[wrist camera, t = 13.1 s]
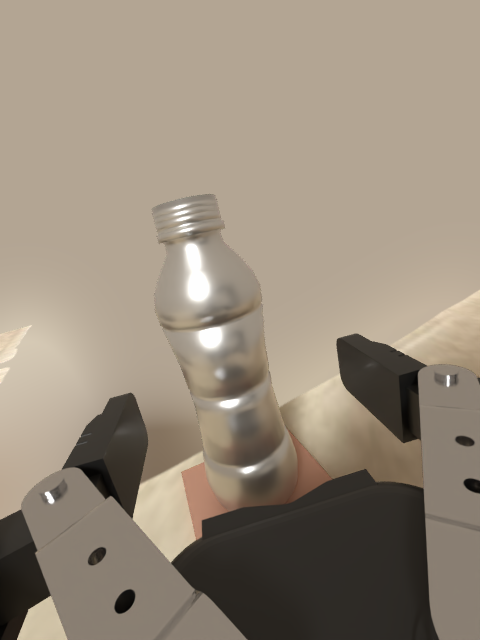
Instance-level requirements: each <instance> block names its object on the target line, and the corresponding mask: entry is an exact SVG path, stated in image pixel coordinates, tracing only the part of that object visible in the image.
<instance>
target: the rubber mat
mask: <svg viewBox="0 0 480 640" xmlns="http://www.w3.org/2000/svg"><path fill="white" fill-rule="evenodd" d="M287 430H288V429H287ZM288 432H289V434H290V437H291V439H292V442H293V445H294V447H295V450H296V453H297V460H298V477H297V484H296V487H295V489H294V491H293V493H292V495H291V496H290V498H289V499H288V501H287V502H286V503H285V504H288V503H291V502H293V501H295V500H297V499H298V498H300V497H302V496H303V495H305V494H307V493H308V492H310V491H312V490H313V489H315V488H317V487H318V486H320V485H321V484H323V483H325V482H326V481H329V480H332V478H331V477H330V476H329V475H328V474H327V473H326V471H325V470H324V469H323V468H322V467H321V466H320V465H319V464H318V462H317V461H316V460H315V459H314V458H313V457H312V456H311V455H310V453H309V452H308V451H307V450H306V449H305V448H304V447H303V446H302V444H301V443H300V442H299V441H298V440H297V439H296V438H295V437H294V435H293V434H292V433H291V432H290V431H289V430H288ZM181 473H182V477H183V482H184V487H185V491H186V496H187V500H188V505H189V509H190V514H191V518H192V523H193V527H194V532H195V536H196V540H197V539H199V538H201V537H202V520H204V519H207V518H211V517H214V516H217V515H220V514H223V513H227V512H230V511H229V510H227V509H226V508H224V507H223V506H222V505H221V504H220V503H219V501H218V499H217V498H216V496H215V494H214V492H213V490H212V489H211V487H210V485H209V483H208V481H207V477H206V471H205V465H204V462H203V463H201V464H199V465H196V466H194V467H192V468H189V469H187V470H185V471H182V472H181Z"/></svg>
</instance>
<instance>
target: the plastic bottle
mask: <svg viewBox="0 0 480 640" xmlns="http://www.w3.org/2000/svg"><path fill="white" fill-rule="evenodd" d="M152 212H153V213H152V215H153V218H154V222H155V225H156V229H157V232H158V236H157V239H158V242H159V244H160V243H164V244H165V247H166V258H165V261H164V263H163V266H162V269H161V272H160V275H159V278H158V282H157V286H156V290H155V313H156V315H157V317H158V320H159V323H160V325H161V326H162V327H163V331H164V333H165V335H166V338H167V340H168V342H169V344H170V346H171V348H172V350H173V352H174V354H175V356H176V359H177V361H178V363H179V365H180V367H181V370H182V372H183V375H184V378H185V380H186V383H187V386H188V388H189V389H190V394H191V397H192V400H193V402H194V405H195V408H196V414H197V418H198V423H199V428H200V433H201V437H202V442H203V457H204V465H205V471H206V477H207V481H208V483H209V485H210V487H211V489H212V490H213V492H214V494H215V496H216V498H217V499H218V501H219V503H220V504H221V505H222V506H223V507H224V508H226V509H227V510H229V511H233V510H236V509H239V508H243V507H253V506H267V505H280V504H285V503H286V502H287V501H288V499H289V498H290V496H291V495H292V493H293V491H294V489H295V487H296V484H297V477H298V460H297V453H296V450H295V447H294V445H293V442H292V439H291V437H290V434H289V432H288V430H287V428H286V426H285V424H284V422H283V419H282V416H281V413H280V409H279V406H278V403H277V400H276V397H275V393H274V390H273V387H272V382H271V376H270V372H269V364H268V358H267V352H266V346H265V337H264V321H263V308H262V307H263V306H262V303H261V302H262V296H261V288H260V284H259V282H258V280H257V278H256V276H255V274H254V272H253V270H252V269H251V268H250V267H249V266H248V265H247V264H246V263H245V261H244V260H243V259H242V258H241V257H240V256H239V255H238V254H236V252H234V251H233V250H232V249H231V248H230V247H229V246H228V245H227V244H226V243H225V242H224V241H223V238H222V236H221V233H220V231H221V229H224V228H225V226H224V222H223V221H221V216H220V212H219V207H218V203H217V199H216V197H215V195H213V194H205V195H197V196H191V197H186V198H182V199H178V200H174V201H170V202H167V203H163V204H160V205H158V206H156V207H154V208H152Z"/></svg>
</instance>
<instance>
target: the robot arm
mask: <svg viewBox="0 0 480 640" xmlns="http://www.w3.org/2000/svg"><path fill="white" fill-rule="evenodd" d="M337 352H338V361H339V368H340V375H341V379H342V382H343V384H344V386H345V388H346V389H347V390H348V391H349V392H350V393H351V394H352V395H353V396H354V397H355V398H356V399H357V400H358V401H359V402H360V403H361V404H362V405H364V406H365V407H366V408H367V409H368V410H369V411H370V412H371V413H372V414H373V415H374V416H375V417H376V418H377V419H378V420H379V421H380V422H381V423H382V424H384V425H385V426H386V427H387V428H388V429H389V430H390V431H391V432H392V433H393V434H394V435H395V436H396V437H397V438H398V439H399V440H400V441H401V442H403V443H406V442H409V441H412V440H416V439H419V440H421V449H422V469H423V488H424V489H423V488H420V487H416V486H413V485H408V484H403V483H396V482H375V480H374V479H373V478H372V477H371V475H370V474H369V473H368V471H367V470H366V469H364V470H361V471H358V472H355V473H352V474H348V475H345V476H342V477H339V478H336V479H332V480H329V481H326V482H325V483H323V484H321V485H320V486H318V487H317V488H315V489H313V490H312V491H310V492H308V493H307V494H305V495H303V496H302V497H300V498H298V499H297V500H295V501H293V502H291V503H288V504H280V505H267V506H253V507H243V508H239V509H236V510H233V511H230V512H227V513H223V514H220V515H217V516H214V517H211V518H207V519H204V520H202V537H201V538H199V539H197V540H196V541H195V542H193V543H192V544H190V545H189V546H188V547H186V548H185V549H184V550H183V551H182V552H181V553H180V554H179V555H178V556H177V557H176V558H175V559H174V560H173V561H172V562H171V563H170V562H169V561H168V559H167V558H166V557H165V556H164V555H163V554H162V553H161V551H160V550H159V549H158V548H157V547H156V546H155V545H154V543H153V542H152V541H151V540H150V539H149V538H148V537H147V536H146V534H145V533H144V532H143V531H142V530H141V529H140V528H139V526H138V525H137V524H136V523H135V522H134V521H133V520H132V518H133V513H134V508H135V504H136V499H137V494H138V490H139V485H140V480H141V475H142V471H143V466H144V461H145V457H146V452H147V447H148V436H147V431H146V427H145V424H144V421H143V419H142V416H141V413H140V410H139V407H138V404H137V402H136V399H135V397H134V395H133V394H132V393H128V394H124V395H121V396H117V397H113V398H110V399H109V401H108V403H107V405H106V407H105V409H104V411H103V413H102V414H100V415H98V416H96V417H95V418H94V419H93V420H92V421H91V422H90V423H89V424H88V425H87V426H86V428H85V429H84V431H83V433H82V435H81V438H79V440H78V442H77V444H76V446H75V447H74V449H73V450H72V452H71V454H70V456H69V458H68V459H67V461H66V463H65V465H64V466H63V468H62V470H60V471H58V472H55V473H53V474H51V475H49V476H48V477H46V478H45V479H43V480H42V481H40V482H39V483H38V484H36V485H35V486H34V487H33V488H32V489H31V490H30V491H29V492H28V494H27V495H26V496H25V498H24V499H23V502H22V504H21V510H19V511H17V512H15V513H13V514H11V515H9V516H7V517H6V518H3V519H1V520H0V640H17V638H18V635H19V633H20V630H21V628H22V625H23V622H24V620H25V617H26V615H27V612H28V609H30V608H31V607H33V606H35V605H36V604H38V603H39V602H41V601H43V600H44V599H46V598H48V597H49V596H51V597H52V599H53V602H54V605H55V607H56V610H57V612H58V615H59V618H60V620H61V623H62V626H63V628H64V631H65V633H66V636H67V639H68V640H480V378H477V377H476V375H475V374H474V373H473V372H472V371H470V370H468V369H465V368H463V367H459V366H454V365H445V364H438V365H430V366H427V365H425V364H423V363H421V362H419V361H417V360H415V359H413V358H411V357H409V356H408V355H405V354H404V353H402V352H400V351H397V350H396V349H394V348H392V347H390V346H388V345H386V344H382V343H378V342H372V341H370V340H368V339H366V338H365V337H363V336H361V335H359V334H353V335H349V336H345V337H341V338H338V339H337Z"/></svg>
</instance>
